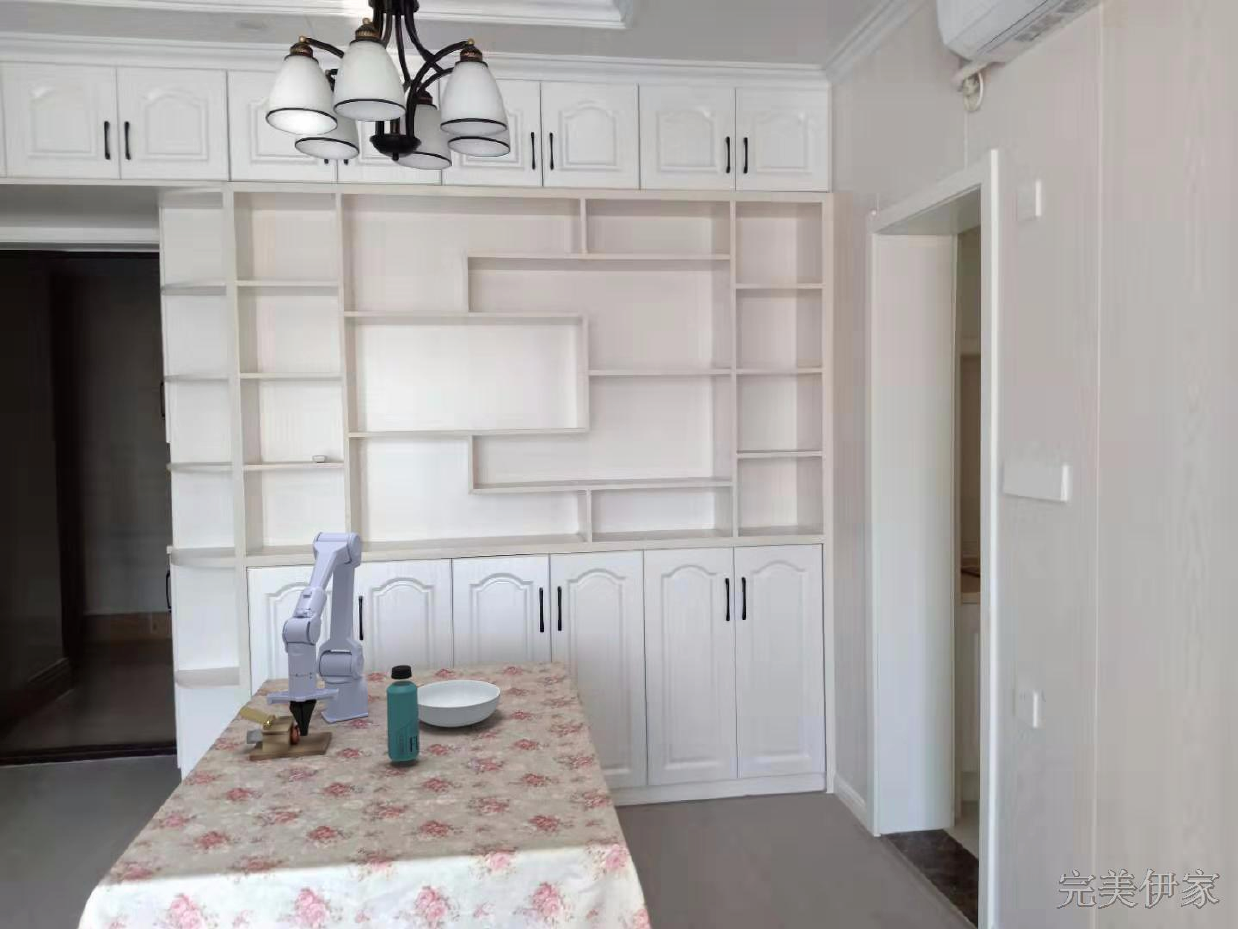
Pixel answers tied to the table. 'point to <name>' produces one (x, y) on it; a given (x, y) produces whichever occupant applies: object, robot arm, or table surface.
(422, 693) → the serving bowl
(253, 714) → the brass hinge flap
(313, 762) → the table surface
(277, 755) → the hitch block
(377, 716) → the table surface
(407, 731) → the beverage bottle
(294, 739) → the pin
